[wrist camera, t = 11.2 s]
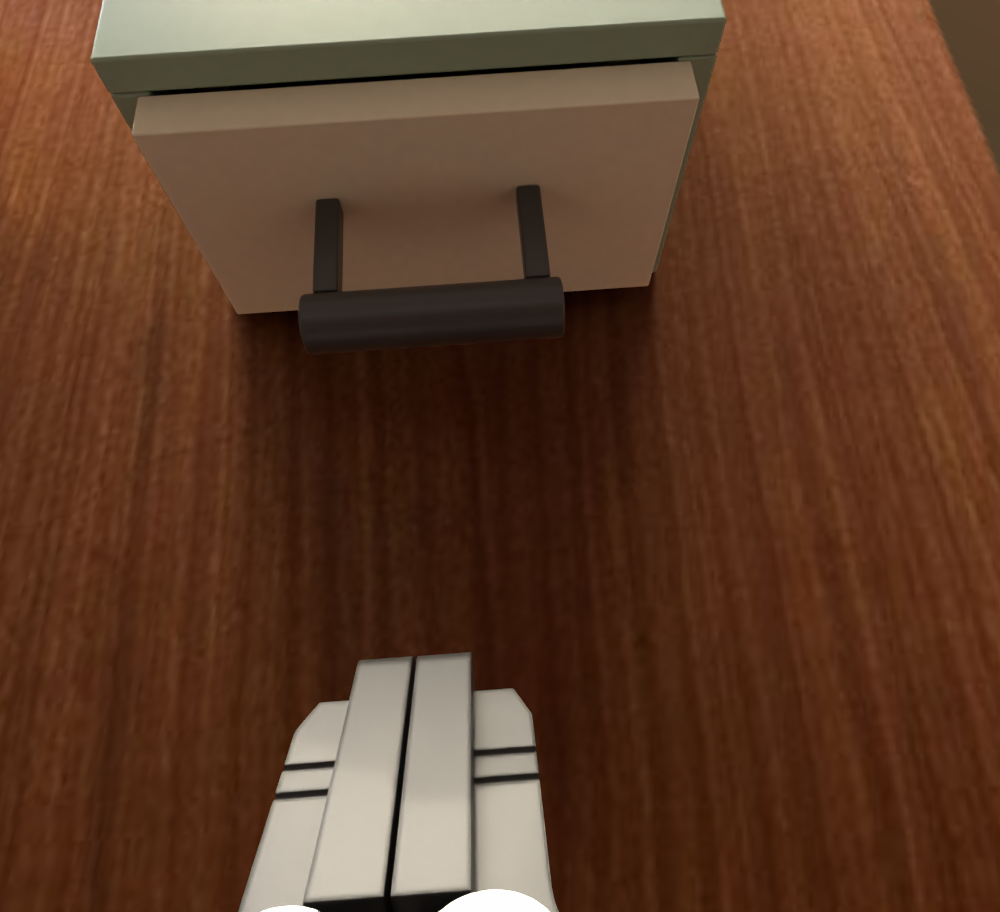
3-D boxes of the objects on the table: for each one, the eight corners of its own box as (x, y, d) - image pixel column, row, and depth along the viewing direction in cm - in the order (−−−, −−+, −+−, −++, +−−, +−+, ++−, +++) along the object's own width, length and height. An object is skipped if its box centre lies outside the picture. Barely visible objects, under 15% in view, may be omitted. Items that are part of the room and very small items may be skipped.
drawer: (671, 408, 21) (738, 249, 15) (226, 440, 21) (103, 293, 15) (585, -60, 30) (605, -289, 23) (266, -39, 29) (198, -265, 23)
